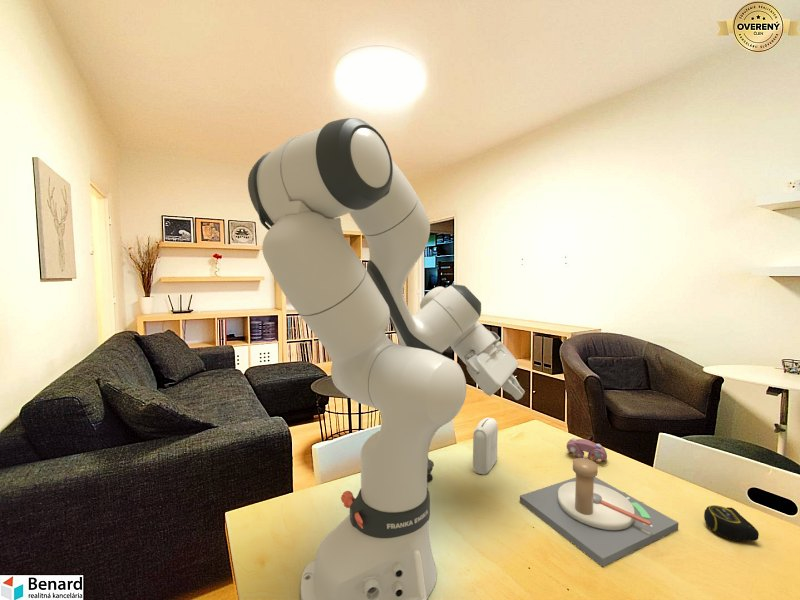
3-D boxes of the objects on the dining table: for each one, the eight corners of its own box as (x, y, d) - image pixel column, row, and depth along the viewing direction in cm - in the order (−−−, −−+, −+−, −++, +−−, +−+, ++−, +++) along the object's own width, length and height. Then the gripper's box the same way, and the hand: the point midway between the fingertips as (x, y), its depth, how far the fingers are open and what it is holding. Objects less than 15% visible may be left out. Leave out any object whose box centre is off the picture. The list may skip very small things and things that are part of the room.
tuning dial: (545, 504, 77) (546, 453, 76) (576, 480, 86) (577, 434, 85) (636, 551, 64) (638, 490, 63) (661, 516, 73) (663, 463, 72)
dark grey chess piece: (432, 485, 87) (432, 436, 87) (408, 482, 89) (408, 434, 88) (435, 472, 93) (435, 427, 92) (412, 470, 94) (412, 425, 94)
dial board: (602, 567, 62) (602, 557, 62) (519, 502, 81) (519, 494, 81) (678, 529, 72) (678, 521, 71) (588, 479, 90) (588, 472, 90)
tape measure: (760, 548, 67) (761, 528, 67) (716, 541, 68) (717, 522, 68) (735, 523, 74) (736, 506, 73) (696, 518, 75) (697, 501, 75)
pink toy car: (566, 460, 102) (564, 442, 99) (568, 447, 105) (567, 430, 102) (606, 470, 97) (605, 452, 94) (608, 457, 100) (607, 439, 97)
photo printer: (483, 455, 102) (484, 412, 101) (499, 459, 100) (499, 415, 99) (470, 472, 93) (471, 425, 92) (487, 477, 91) (487, 428, 90)
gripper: (472, 346, 71) (524, 403, 67) (497, 331, 89) (538, 375, 85) (451, 366, 73) (499, 422, 69) (479, 348, 91) (519, 391, 87)
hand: (521, 396), depth 77 cm, fingers closed
